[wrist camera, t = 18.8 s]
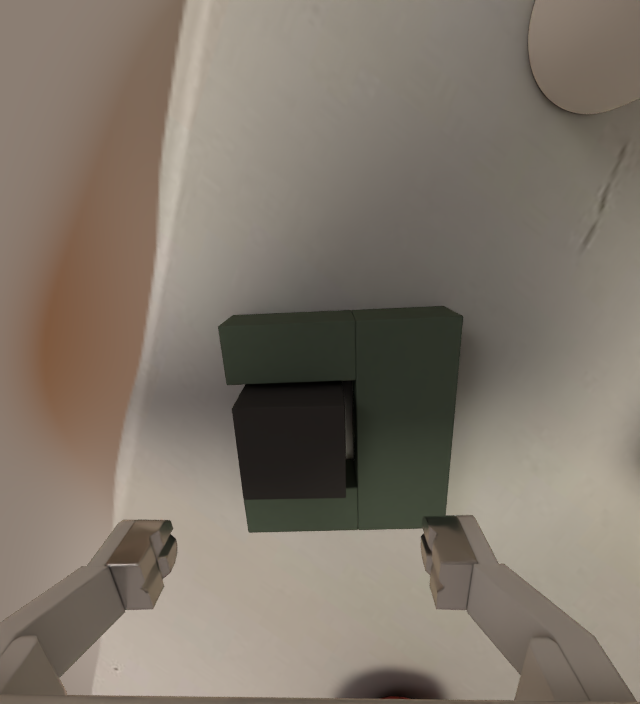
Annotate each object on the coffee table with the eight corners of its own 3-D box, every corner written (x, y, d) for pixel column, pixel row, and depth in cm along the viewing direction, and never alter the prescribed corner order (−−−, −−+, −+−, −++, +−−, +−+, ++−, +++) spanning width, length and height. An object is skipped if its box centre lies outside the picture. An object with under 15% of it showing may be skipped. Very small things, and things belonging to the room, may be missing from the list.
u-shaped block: (232, 315, 17) (217, 326, 15) (444, 305, 17) (463, 315, 15) (257, 500, 21) (248, 533, 19) (431, 495, 21) (444, 528, 18)
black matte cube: (259, 451, 20) (243, 500, 16) (250, 374, 18) (231, 408, 14) (342, 449, 20) (346, 498, 16) (340, 371, 18) (345, 405, 14)
